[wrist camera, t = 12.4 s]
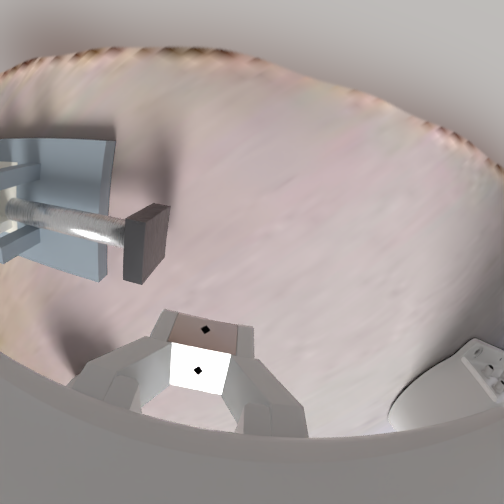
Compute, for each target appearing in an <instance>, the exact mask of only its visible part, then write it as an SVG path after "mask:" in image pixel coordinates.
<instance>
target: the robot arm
mask: <svg viewBox="0 0 504 504" xmlns="http://www.w3.org/2000/svg"><path fill="white" fill-rule="evenodd" d="M170 384H172V385H177V386H182V387H187V388H192V389H197V390H202V391H206V392H211V393H216V394H221V396H222V398H223V400H224V401H225V403H226V405H227V407H228V408H229V410H230V412H231V414H232V415H233V417H234V419H235V420H236V422H237V424H238V425H237V427H236V430H235V433H232V432H224V431H218V430H211V429H206V428H200V427H195V426H190V425H185V424H180V423H176V422H171V421H167V420H163V419H159V418H155V417H151V416H148V415H144V414H142V410H141V407H143V406H144V405H145V404H146V403H148V402H149V401H150V400H152V399H153V398H154V397H155V396H157V395H158V394H159V393H161V392H162V391H163V390H164V389H166V388H167V387H168V386H169V385H170ZM388 421H389V423H390V425H391V426H392V427H393V428H394V430H395V431H396V432H391V433H384V434H375V435H365V436H352V437H332V438H309V437H308V431H307V425H306V419H305V413H304V408H303V406H302V405H301V404H300V403H299V402H298V401H297V400H296V399H295V398H294V397H293V396H292V395H291V394H290V392H289V391H288V390H287V389H286V388H285V387H284V386H283V385H282V384H281V383H280V382H279V381H278V380H277V379H276V378H275V376H274V375H273V374H272V373H271V372H270V371H269V370H268V369H267V368H266V367H265V366H264V364H263V363H262V362H261V361H260V360H259V359H254V328H253V326H246V325H239V324H238V325H237V324H231V323H225V322H219V321H214V320H209V319H206V318H201V317H197V316H193V315H188V314H184V313H180V312H176V311H172V310H167V309H164V310H163V311H162V312H161V314H160V316H159V319H158V321H157V323H156V325H155V327H154V329H153V331H152V333H151V335H150V337H147V336H144V337H142V338H140V339H138V340H136V341H134V342H131V343H129V344H127V345H125V346H123V347H120V348H118V349H116V350H114V351H111V352H109V353H107V354H105V355H102V356H100V357H98V358H96V359H93V360H91V361H89V362H87V364H86V365H85V367H84V368H83V370H82V372H81V373H80V375H79V376H78V378H77V380H76V381H75V383H74V385H73V386H72V388H68V387H66V386H64V385H62V384H60V383H57V382H55V381H53V380H51V379H49V378H47V377H45V376H43V375H41V374H39V373H37V372H35V371H33V370H31V369H29V368H28V367H26V366H24V365H22V364H20V363H19V362H17V361H15V360H13V359H12V358H10V357H8V356H7V355H5V354H3V353H2V352H0V504H504V350H501V349H499V348H497V347H495V346H492V345H490V344H488V343H486V342H483V341H481V340H479V339H476V338H474V339H472V340H470V341H469V342H468V343H466V344H465V345H464V346H463V347H462V348H461V349H460V350H459V351H458V352H457V353H456V354H454V355H453V356H451V357H450V358H448V359H446V360H444V361H443V362H441V363H439V364H437V365H436V366H434V367H433V368H431V369H430V370H428V371H427V372H425V373H424V374H423V375H421V376H420V377H419V378H418V379H416V380H415V381H414V382H413V383H412V384H411V385H410V386H409V387H408V388H407V389H406V390H405V391H404V392H403V393H402V394H401V395H400V396H399V397H398V399H397V400H396V401H395V403H394V404H393V406H392V408H391V410H390V412H389V416H388Z"/></svg>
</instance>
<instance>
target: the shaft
mask: <svg viewBox="0 0 504 504" xmlns="http://www.w3.org/2000/svg"><path fill="white" fill-rule="evenodd" d="M169 213H170V206H167V205H161V204H156V203H153V204H151V205H149V206H147V207H145V208H143V209H142V210H140V211H138V212H136V213H134V214H133V215H131V216H129V217H127V218H126V219H121V218H116V217H111V216H106V215H101V214H96V213H91V212H86V211H81V210H76V209H71V208H66V207H60V206H55V205H50V204H45V203H40V202H35V201H30V200H24V199H19V198H11V199H9V200H8V202H7V204H6V207H5V214H6V217H7V218H8V219H9V220H13V221H16V222H20V223H24V224H27V225H31V226H35V227H39V228H43V229H46V230H50V231H54V232H58V233H62V234H66V235H70V236H74V237H78V238H82V239H86V240H90V241H94V242H98V243H102V244H106V245H110V246H115V247H119V248H123V249H124V257H123V280H126V281H129V282H133V283H137V284H141V285H142V284H143V283H144V282H145V280H146V279H147V278H148V277H149V275H150V274H151V273H152V272H153V271H154V269H155V268H156V267H157V266H158V264H159V263H160V262H161V261H162V260H163V258H164V257H165V247H166V238H167V229H168V221H169Z"/></svg>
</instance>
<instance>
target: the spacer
mask: <svg viewBox="0 0 504 504" xmlns="http://www.w3.org/2000/svg"><path fill="white" fill-rule="evenodd" d="M11 228H13V225H12V220H9V219H8V218H7V217H5V216H2V215H0V234H1V233H3V232H5V231H7V230H9V229H11Z"/></svg>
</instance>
